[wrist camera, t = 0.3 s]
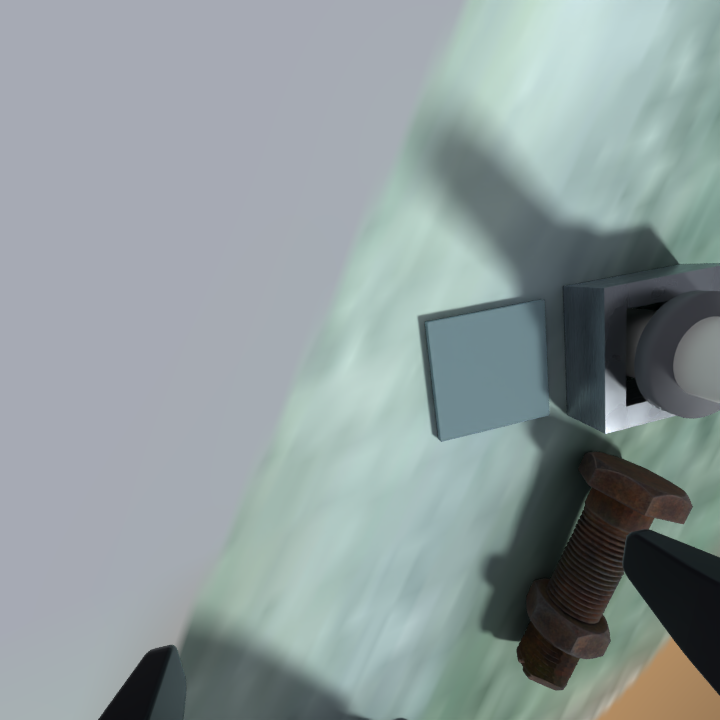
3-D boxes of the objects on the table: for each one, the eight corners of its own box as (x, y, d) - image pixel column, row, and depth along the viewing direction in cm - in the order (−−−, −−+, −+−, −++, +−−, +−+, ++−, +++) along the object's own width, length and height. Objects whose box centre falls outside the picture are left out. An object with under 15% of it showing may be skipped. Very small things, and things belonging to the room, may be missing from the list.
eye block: (675, 388, 26) (725, 402, 23) (567, 415, 25) (605, 433, 22) (680, 264, 24) (735, 262, 21) (563, 286, 23) (604, 288, 20)
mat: (545, 412, 24) (549, 415, 24) (438, 439, 23) (441, 441, 23) (539, 299, 23) (544, 299, 22) (424, 321, 21) (427, 322, 21)
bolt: (498, 620, 30) (581, 441, 27) (568, 657, 28) (662, 472, 26) (502, 687, 24) (606, 470, 22) (589, 737, 23) (710, 512, 20)
